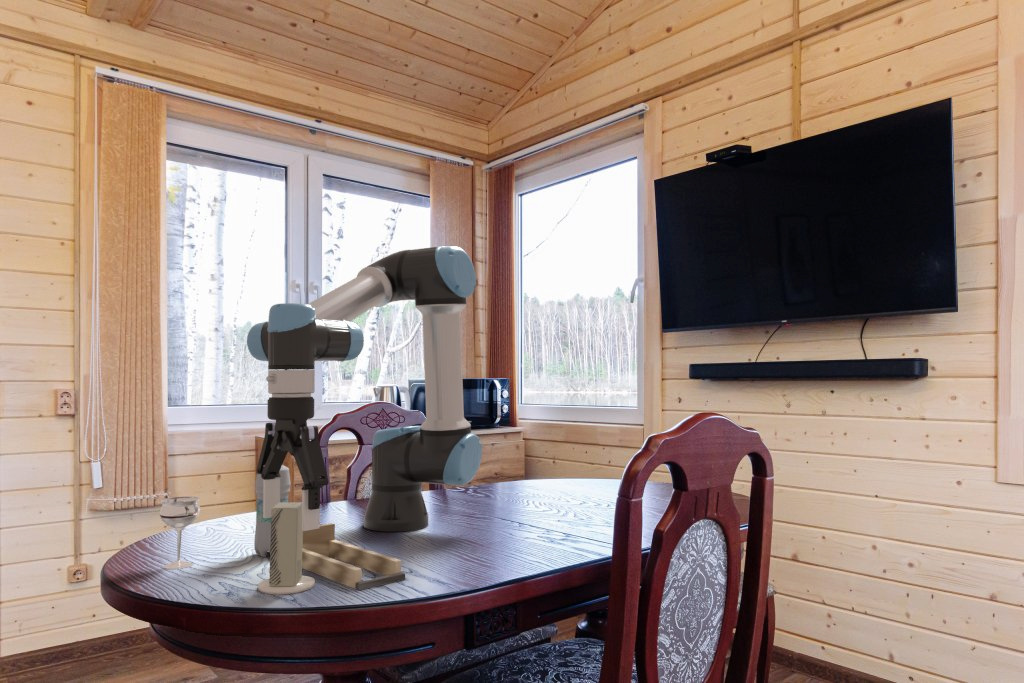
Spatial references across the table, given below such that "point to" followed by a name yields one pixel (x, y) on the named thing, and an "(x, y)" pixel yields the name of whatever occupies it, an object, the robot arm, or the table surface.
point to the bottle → (262, 523)
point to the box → (286, 544)
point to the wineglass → (179, 521)
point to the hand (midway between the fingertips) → (290, 523)
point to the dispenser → (346, 560)
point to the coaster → (301, 586)
